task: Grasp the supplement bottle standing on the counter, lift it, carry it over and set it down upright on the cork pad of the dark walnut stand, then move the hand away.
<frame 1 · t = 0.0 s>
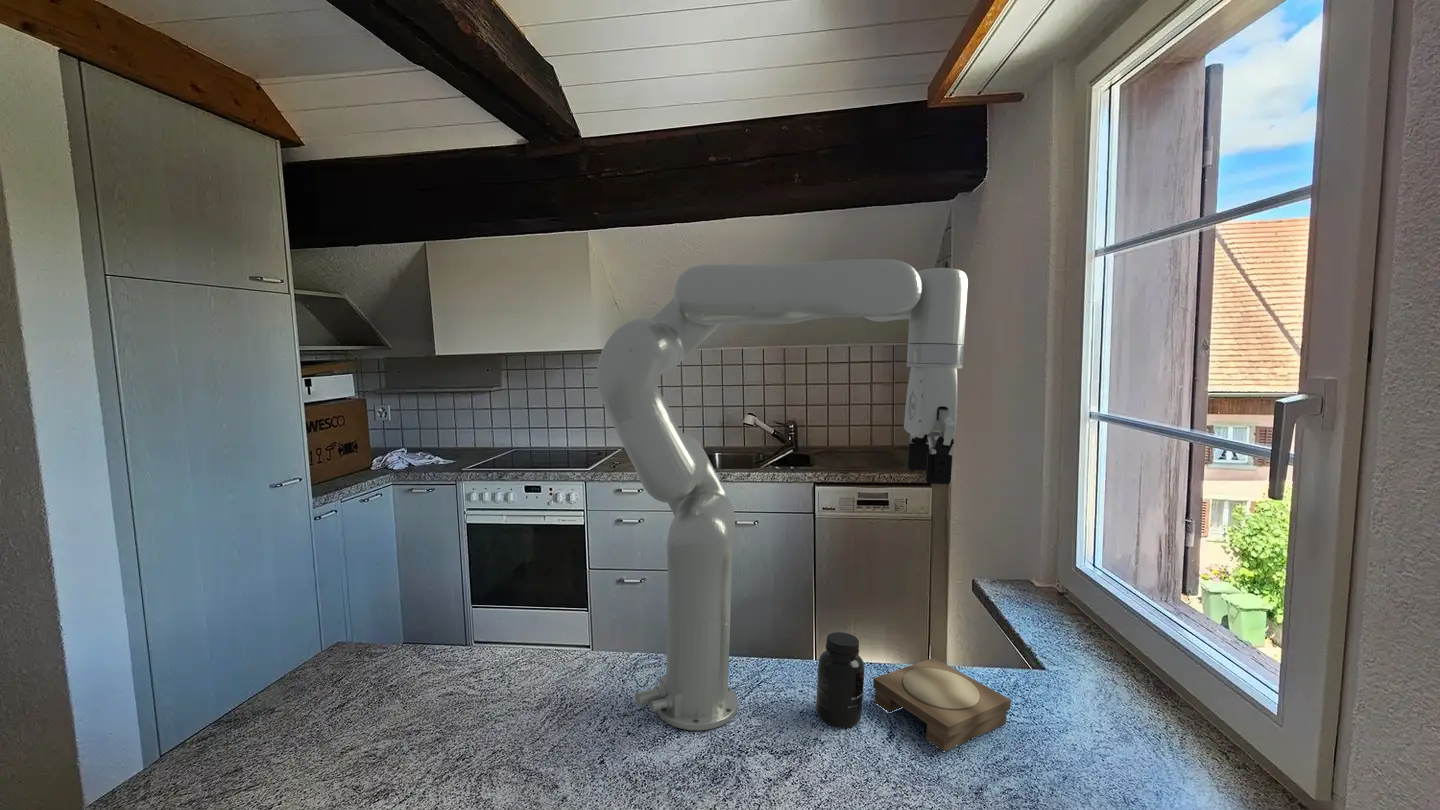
hand: (927, 476, 86), 37 cm above the countertop, tool pointing down, fingers open, 9 cm apart
walnut stand: (938, 713, 91), on the countertop
supplement bottle: (838, 716, 90), on the countertop
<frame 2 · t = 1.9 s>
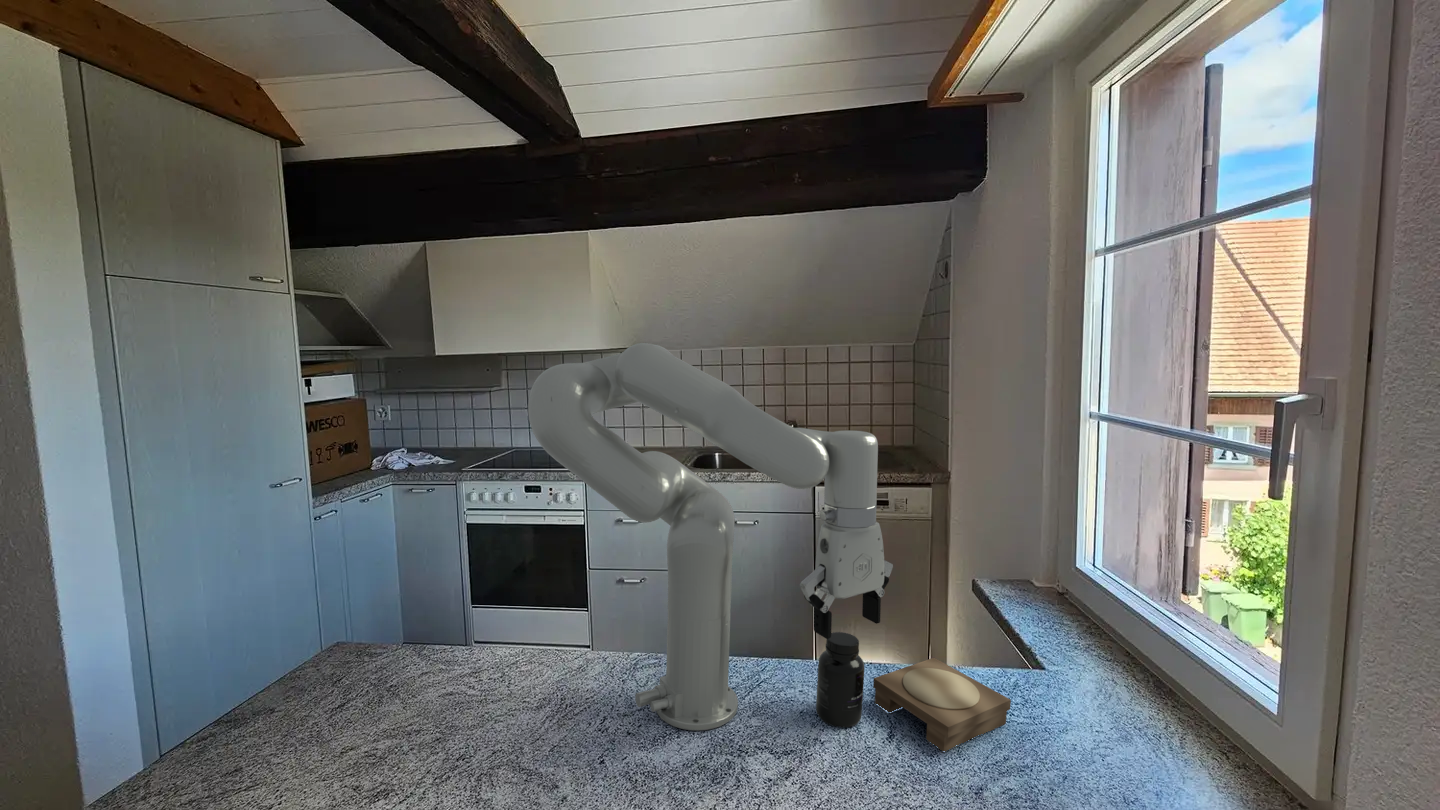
hand: (847, 627, 89), 14 cm above the countertop, tool pointing down, fingers open, 9 cm apart
nothing on the countertop moved.
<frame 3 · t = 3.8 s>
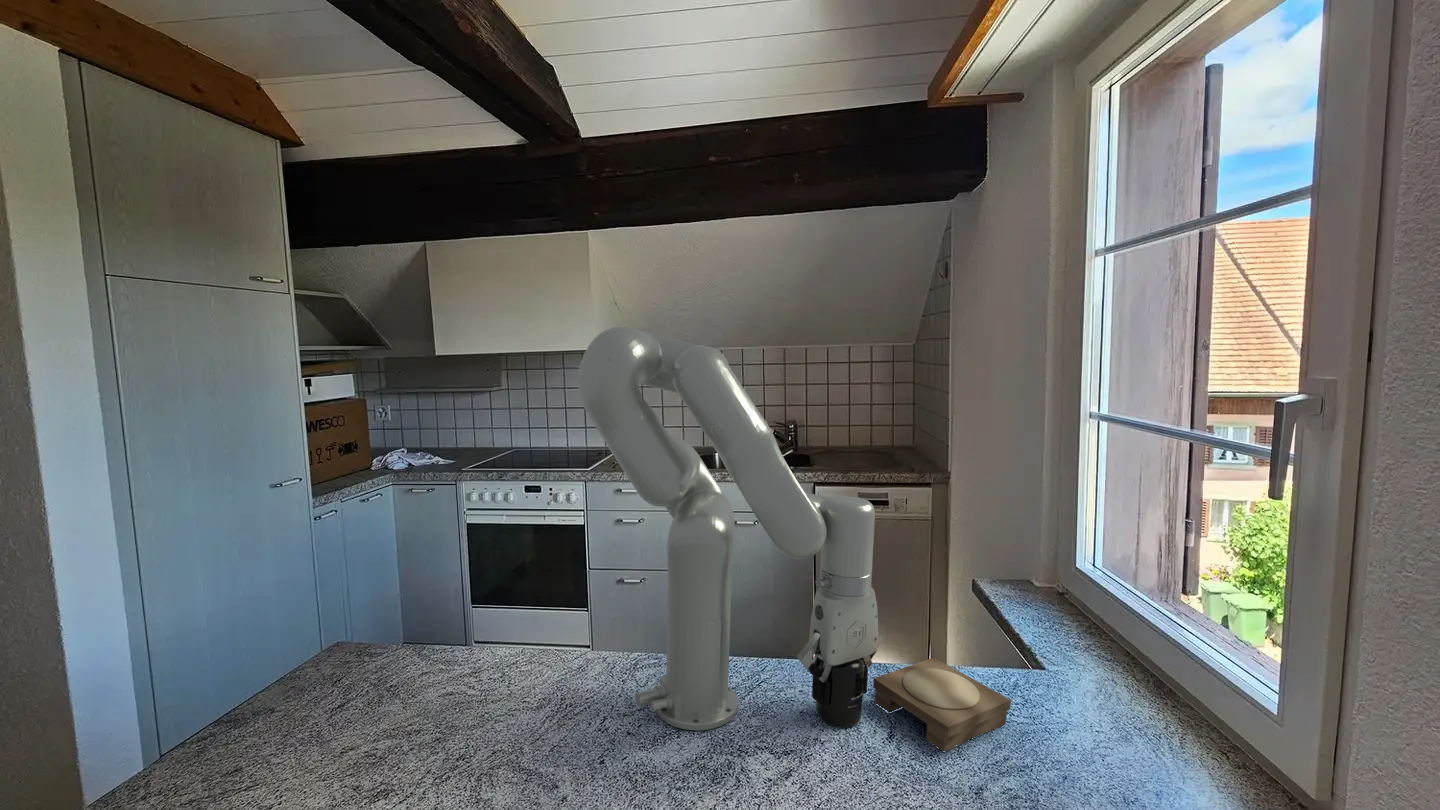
hand: (839, 694, 89), 3 cm above the countertop, tool pointing down, fingers closed on supplement bottle, 6 cm apart
supplement bottle: (838, 716, 90), on the countertop, touching gripper
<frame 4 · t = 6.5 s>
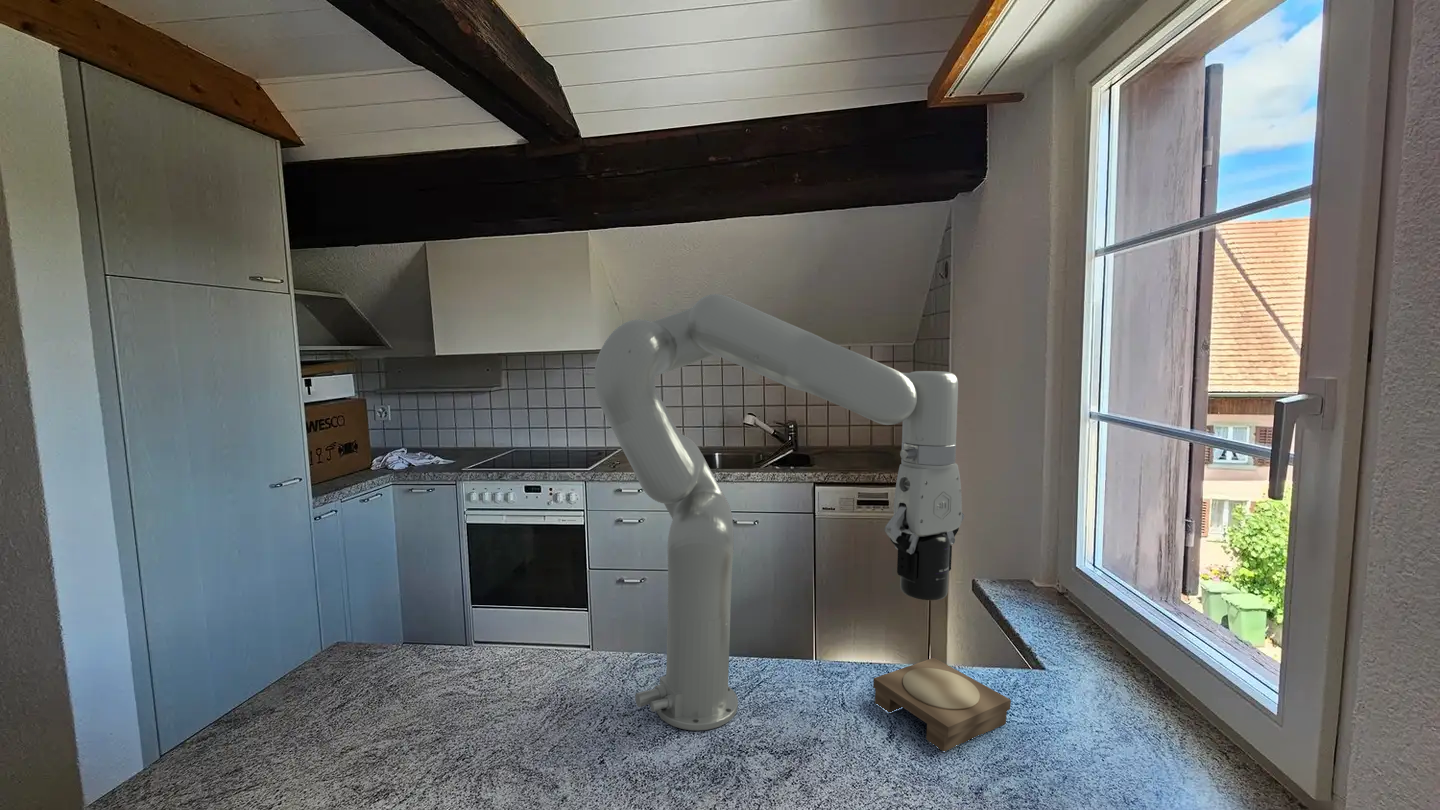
hand: (924, 571, 89), 22 cm above the countertop, tool pointing down, fingers closed on supplement bottle, 6 cm apart
supplement bottle: (923, 593, 89), point 19 cm above the countertop, touching gripper
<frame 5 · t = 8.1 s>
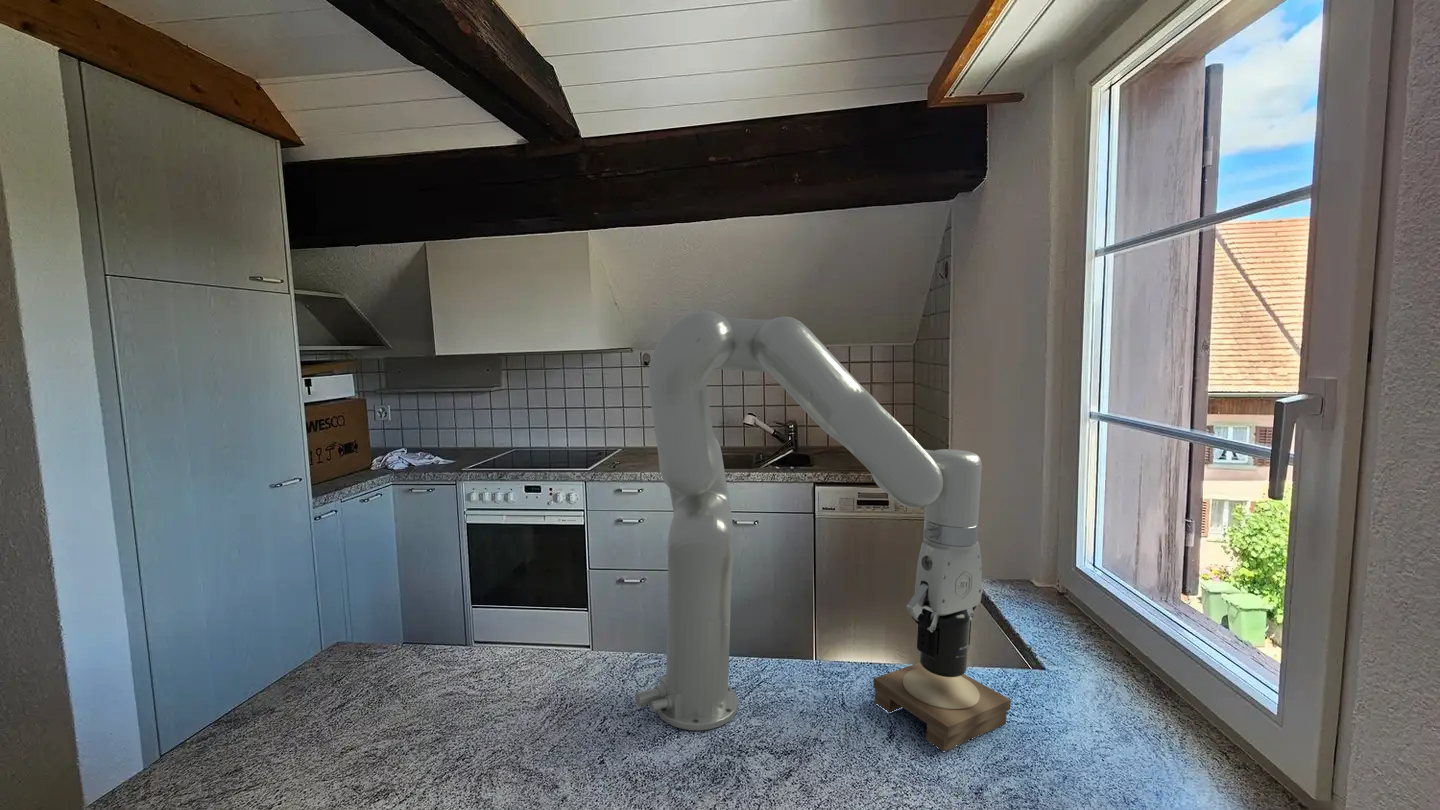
hand: (943, 646, 90), 11 cm above the countertop, tool pointing down, fingers closed on supplement bottle, 6 cm apart
supplement bottle: (942, 668, 90), point 7 cm above the countertop, touching gripper
when the fingers open (9 cm above the countertop, at t = 9.2 s): supplement bottle drops 2 cm, resting on walnut stand.
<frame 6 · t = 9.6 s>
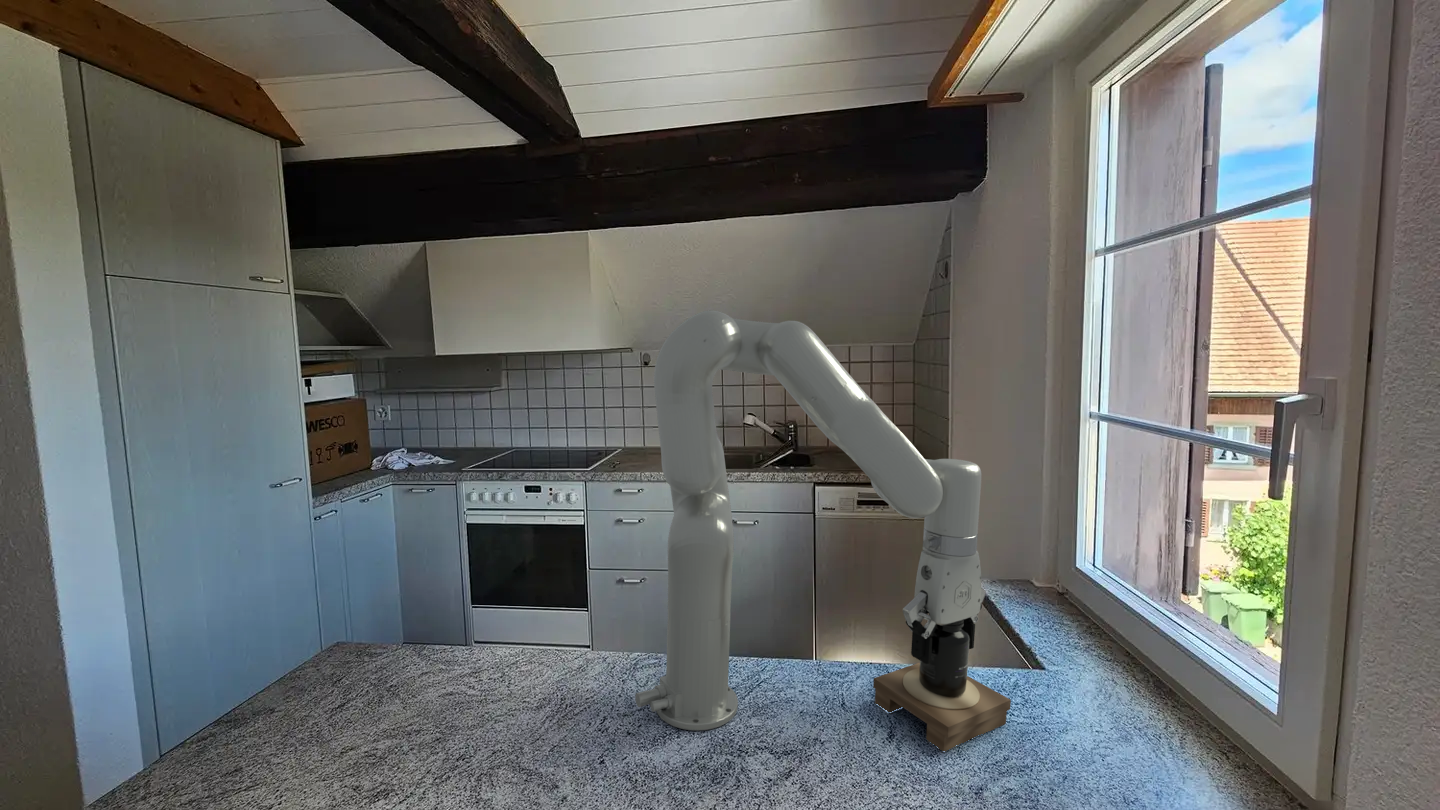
hand: (942, 652, 90), 10 cm above the countertop, tool pointing down, fingers open, 9 cm apart
supplement bottle: (942, 687, 91), point 4 cm above the countertop, touching walnut stand
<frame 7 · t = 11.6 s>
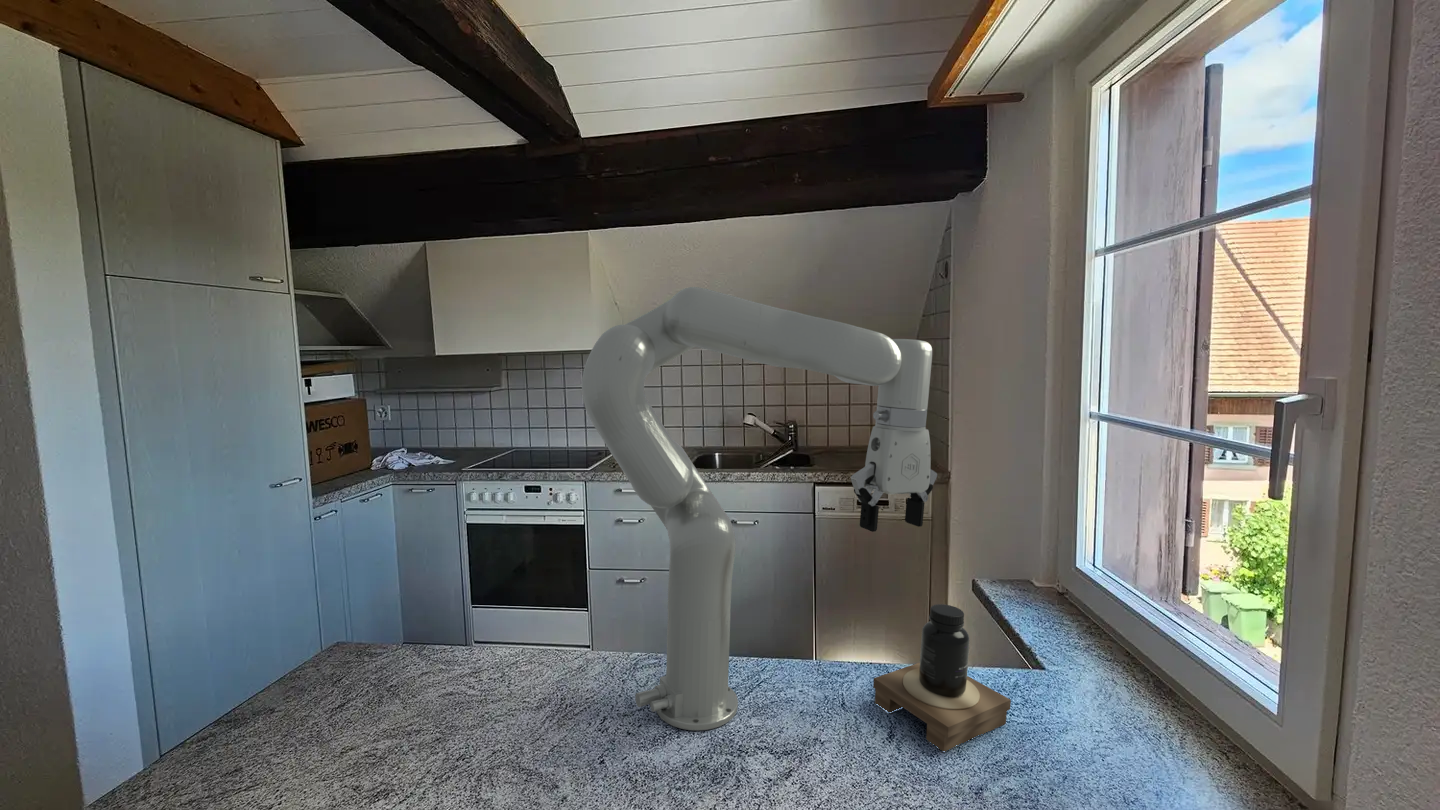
hand: (891, 526, 93), 28 cm above the countertop, tool pointing down, fingers open, 9 cm apart
nothing on the countertop moved.
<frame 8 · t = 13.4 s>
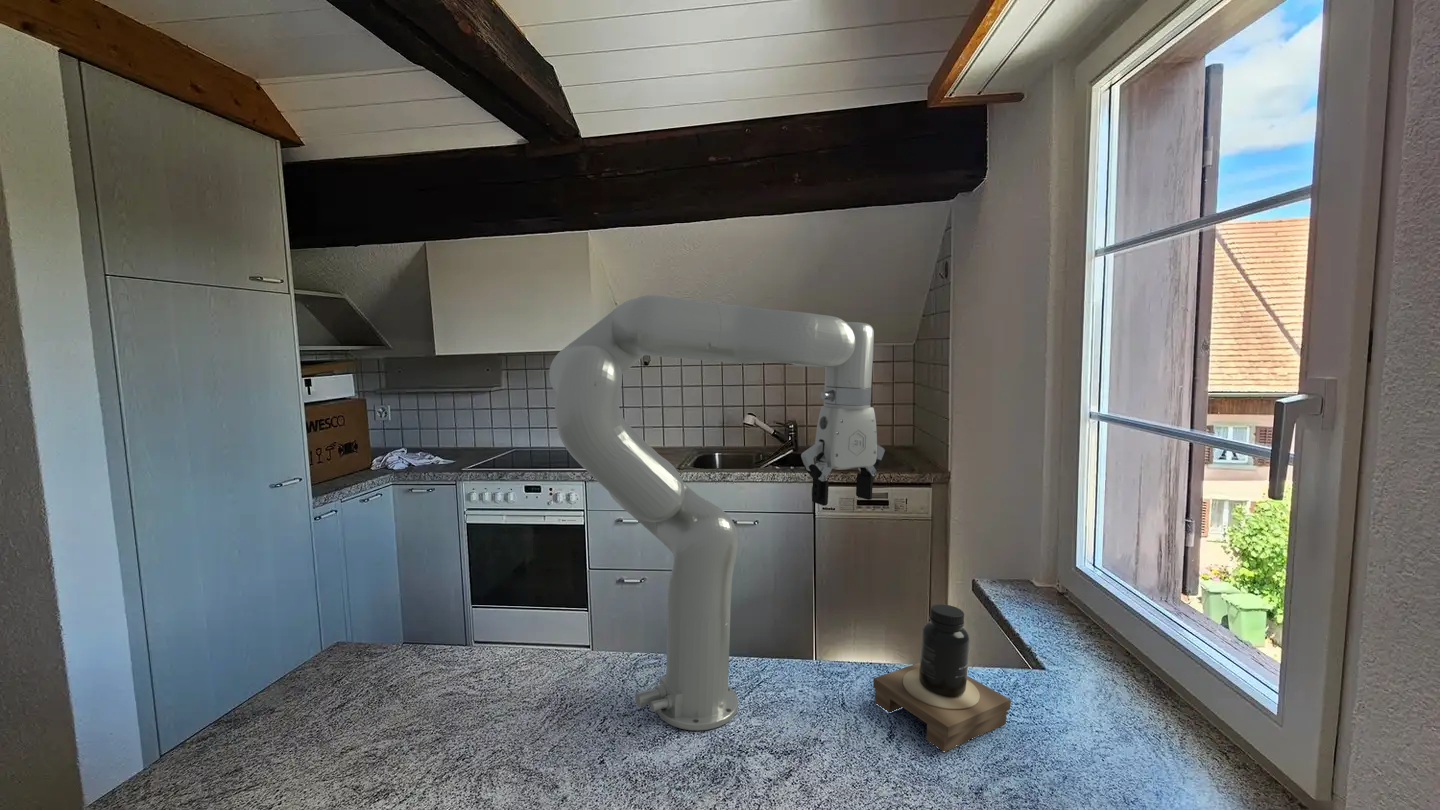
hand: (842, 500, 99), 30 cm above the countertop, tool pointing down, fingers open, 9 cm apart
nothing on the countertop moved.
at the end: supplement bottle inside the target area on the walnut stand (0.4 cm from its centre), point 4.1 cm above the walnut stand's base; supplement bottle tilted 0°; the gripper is holding nothing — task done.
